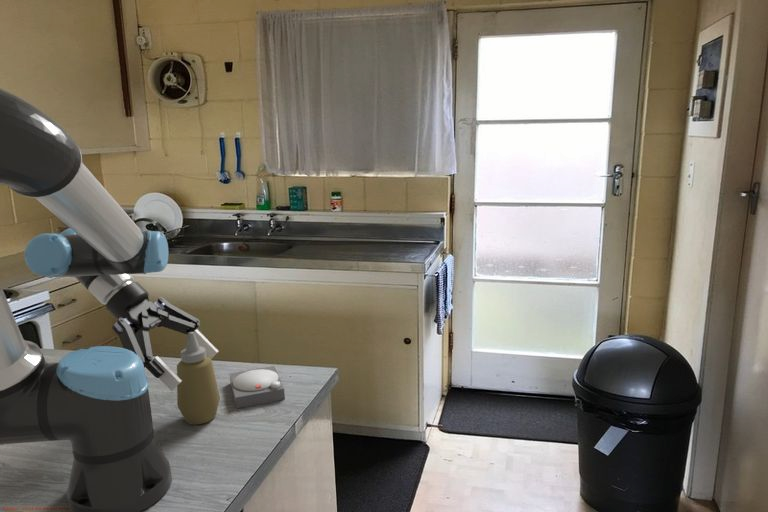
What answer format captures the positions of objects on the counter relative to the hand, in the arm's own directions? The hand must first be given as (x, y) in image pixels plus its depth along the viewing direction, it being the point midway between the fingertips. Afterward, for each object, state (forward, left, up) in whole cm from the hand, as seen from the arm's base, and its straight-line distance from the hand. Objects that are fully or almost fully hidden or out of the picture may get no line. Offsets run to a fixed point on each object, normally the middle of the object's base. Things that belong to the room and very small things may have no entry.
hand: (196, 370), depth 112 cm
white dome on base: (+6, -12, -10) cm, 16 cm away
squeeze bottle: (-1, 0, -10) cm, 10 cm away
